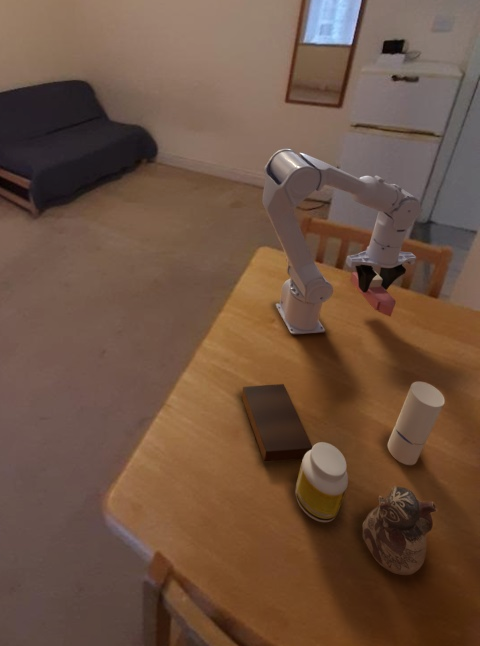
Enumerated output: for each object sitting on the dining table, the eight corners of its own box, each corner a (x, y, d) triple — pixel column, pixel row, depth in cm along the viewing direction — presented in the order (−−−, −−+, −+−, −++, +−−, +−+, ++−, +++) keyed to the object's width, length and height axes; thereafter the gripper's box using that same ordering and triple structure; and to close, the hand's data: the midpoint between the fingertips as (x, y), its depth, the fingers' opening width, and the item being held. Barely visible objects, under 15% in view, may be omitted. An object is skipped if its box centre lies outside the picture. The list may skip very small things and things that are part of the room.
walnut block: (241, 396, 79) (242, 386, 78) (281, 393, 80) (283, 383, 78) (264, 462, 69) (266, 451, 67) (310, 458, 69) (313, 448, 67)
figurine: (361, 505, 62) (380, 459, 57) (416, 529, 59) (441, 484, 54) (363, 559, 57) (384, 513, 51) (424, 588, 54) (452, 544, 48)
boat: (349, 280, 98) (354, 264, 96) (365, 279, 98) (370, 263, 96) (381, 317, 87) (386, 301, 85) (399, 316, 87) (405, 299, 85)
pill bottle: (342, 528, 60) (359, 486, 55) (298, 519, 61) (310, 477, 56) (331, 482, 65) (345, 440, 61) (291, 474, 67) (301, 433, 62)
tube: (413, 443, 70) (439, 385, 64) (420, 468, 67) (448, 410, 60) (384, 435, 72) (407, 378, 65) (390, 460, 68) (415, 402, 61)
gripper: (406, 227, 91) (391, 275, 97) (343, 231, 90) (332, 279, 96) (430, 246, 85) (412, 296, 90) (362, 250, 84) (348, 300, 90)
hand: (372, 288), depth 93 cm, fingers closed on boat, 4 cm apart
